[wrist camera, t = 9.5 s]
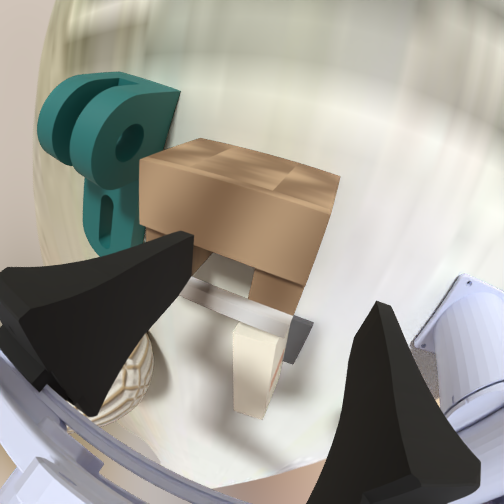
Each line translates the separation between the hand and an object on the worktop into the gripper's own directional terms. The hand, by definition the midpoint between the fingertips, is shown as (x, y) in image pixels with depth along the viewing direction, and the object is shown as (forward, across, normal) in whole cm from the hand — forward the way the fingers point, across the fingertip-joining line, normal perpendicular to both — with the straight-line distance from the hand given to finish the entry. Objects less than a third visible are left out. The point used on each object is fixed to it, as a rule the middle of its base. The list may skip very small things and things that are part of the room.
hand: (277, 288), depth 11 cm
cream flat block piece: (+9, 0, +14) cm, 17 cm away
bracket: (+10, +16, +3) cm, 20 cm away
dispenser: (+10, +4, +2) cm, 11 cm away
